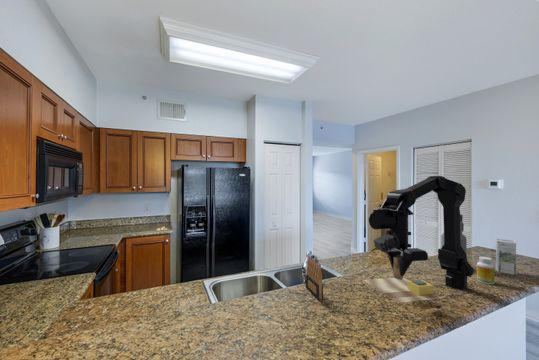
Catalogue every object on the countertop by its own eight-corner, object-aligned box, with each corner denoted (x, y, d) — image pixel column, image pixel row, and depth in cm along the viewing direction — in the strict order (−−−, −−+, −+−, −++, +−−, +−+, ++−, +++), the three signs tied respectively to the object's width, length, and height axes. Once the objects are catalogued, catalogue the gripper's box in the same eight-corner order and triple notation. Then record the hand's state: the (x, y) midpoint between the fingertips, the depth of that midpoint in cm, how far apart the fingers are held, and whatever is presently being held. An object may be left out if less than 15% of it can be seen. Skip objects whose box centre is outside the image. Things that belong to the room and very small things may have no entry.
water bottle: (444, 261, 125) (444, 206, 125) (468, 266, 118) (468, 208, 118) (438, 266, 118) (438, 208, 119) (464, 271, 111) (464, 209, 111)
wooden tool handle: (398, 276, 86) (398, 256, 86) (405, 279, 83) (405, 258, 83) (391, 276, 85) (391, 256, 85) (397, 280, 82) (397, 259, 82)
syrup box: (512, 271, 112) (512, 239, 112) (516, 275, 107) (516, 242, 107) (495, 269, 115) (495, 238, 115) (498, 273, 110) (498, 240, 110)
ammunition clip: (323, 300, 82) (323, 264, 82) (318, 300, 81) (318, 264, 82) (310, 287, 92) (310, 255, 92) (305, 287, 92) (305, 255, 92)
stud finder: (421, 287, 90) (421, 278, 90) (433, 293, 86) (433, 283, 86) (407, 289, 89) (407, 279, 89) (418, 295, 84) (418, 285, 84)
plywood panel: (402, 279, 101) (402, 276, 101) (443, 301, 82) (443, 298, 82) (362, 282, 97) (362, 279, 97) (397, 306, 79) (397, 302, 79)
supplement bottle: (495, 285, 96) (495, 260, 96) (477, 282, 99) (477, 258, 99) (493, 281, 100) (493, 257, 100) (476, 278, 103) (476, 255, 103)
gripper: (361, 224, 92) (361, 266, 91) (398, 234, 73) (397, 286, 73) (387, 223, 94) (387, 264, 94) (429, 233, 76) (429, 284, 75)
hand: (398, 273), depth 84 cm, fingers closed on wooden tool handle, 3 cm apart
